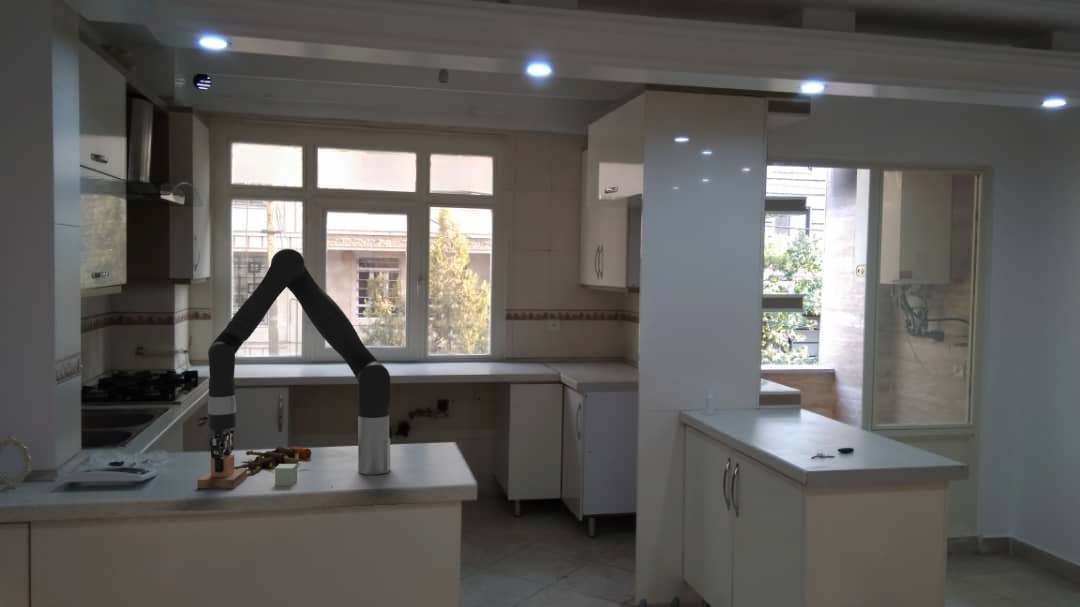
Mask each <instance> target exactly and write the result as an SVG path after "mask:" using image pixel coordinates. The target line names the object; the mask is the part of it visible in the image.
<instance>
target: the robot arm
mask: <svg viewBox="0 0 1080 607" xmlns="http://www.w3.org/2000/svg"><path fill="white" fill-rule="evenodd" d="M270 260H271V262H270V266H269V268H268V270H267V271H266V274H265V276H264V277H263V278H262V280H261V281H260V283H259V284H258V286H257V287H256V288H255V290H254V291H253V292H252V293H251V294H250V295H249V297H248V298H247V299H246V300H245V301H244V302H243V303H242V304H241V305H240V307H239V308H238V310H237V311H236V313H234V315H233V316H232V318H231V319H230V321H228V324H226V327H225V328H224V329H223V330H222V331H221V332H220V334H219V335H218V336H217V337H216V338H215V340H213V342H212V343H211V345H210V346H209V348H208V350H207V356H208V367H209V369H208V370H209V379H208V399H207V400H208V401H207V426H208V429H210V430H213V431H214V434H213V438H210V439H209V447H210V448H209V450H210V459H215V472H216V473H221V472H223V458H224V455H232V451H234V449H235V448H234V447H235V446H234V445H235V444H234V443H235V429H234V428H235V427H236V426H237V401H236V383H235V368H236V353H237V352H238V351H239V350H240V348H241V346H242V345H243V344H244V343H245V341H247V340H248V339H249V338H250V337H251V336H252V334H253V333H254V332H255V330H256V329H257V328H258V326H259V325H260V323H261V322H262V321H263V320H264V318H265V316H266V315H267V313H268V311H269V310H270V309H271V307H272V306H273V304H274V302H275V301H276V300H277V299H278V298H279V296H280V295H281V294H282V292H284V291H285V289H286V288H287V289H288V290H289V291H290V292H291V293H292V295H293V296H294V297H295V298H296V300H297V301H298V303H299V304H300V306H301V307H302V310H303V311H304V313H305V315H306V316H307V318H308V319H309V321H310V322H311V324H312V325H313V326H314V327H315V329H316V330H317V332H318V333H319V334H320V335H321V337H322V338H323V339H324V341H326V343H327V344H328V345H329V346H330V347H332V349H333V350H334V351H335V352H336V353H337V354H338V355H340V357H341V358H343V360H344V361H345V363H346V364H347V365H348V367H349V369H350V370H351V372H352V373H353V375H354V376H355V378H356V380H357V382H358V406H357V407H358V408H357V413H358V414H357V415H358V416H357V424H358V426H357V429H358V432H357V433H358V434H357V435H358V436H357V440H358V441H357V444H358V445H357V446H358V447H357V449H358V452H357V453H358V455H357V456H358V458H357V462H358V463H357V468H358V471H357V472H358V473H359V474H363V475H368V476H369V475H370V476H371V475H381V474H388V473H389V471H390V470H391V438H390V406H391V376H390V373H389V370H388V368H386V367H385V366H384V365H383V363H381V362H380V361H379V360H378V359H377V358H376V357H375V356H374V355H373V354H372V353H371V352H370V350H369V349H367V347H366V345H365V344H364V343H363V342H362V339H361V338H360V336H359V334H358V332H357V330H356V329H355V326H354V325H353V324H352V323H351V321H350V320H349V318H348V317H347V315H346V314H345V313H344V311H343V310H342V309H341V306H339V305H338V304H337V302H336V301H335V300H334V299H333V298H332V297H331V296H330V295H329V294H328V293H327V292H326V291H324V289H323V288H322V287H320V286H319V285H318V284H317V282H316V281H315V279H314V278H313V276H312V275H311V273H310V271H309V270H308V269H307V267H306V265H305V259H304V257H303V255H302V254H301V253H300V252H299V251H298V250H295V249H293V248H283V249H280V250H278V251H276V252H275V253H274V255H273V256H272V258H271V259H270Z"/></svg>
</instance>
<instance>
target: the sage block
mask: <svg viewBox="0 0 1080 607" xmlns="http://www.w3.org/2000/svg"><path fill="white" fill-rule="evenodd" d="M274 482H275V483H274V485H275V486H294V485H295V484H296V483H297V482H298V463H296V464H290V463H286V464H280V463H278V465H277V466H275V467H274Z"/></svg>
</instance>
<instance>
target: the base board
mask: <svg viewBox="0 0 1080 607" xmlns="http://www.w3.org/2000/svg"><path fill="white" fill-rule="evenodd" d="M247 474H248V469H247V468H241V469H234V473H233V474H231V475H230V476H229V477H211V470H209V471H208V472H206V473H205V474H203V475H202V476H201V477H199V478H198V479H197V480H196V481H197V483H196V484H197V485H196V486H197V489H198V488H234V489H235V488H237V486H239V485H240V484H241V483H242V482H244V481H245V480H246V479H247V478H248V476H247ZM245 478H246V479H245ZM244 479H245V480H244ZM238 484H239V485H238Z"/></svg>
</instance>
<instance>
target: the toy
mask: <svg viewBox="0 0 1080 607" xmlns="http://www.w3.org/2000/svg"><path fill="white" fill-rule="evenodd" d="M245 455H246V456H255V458H254V459H253V460H249V461H248V460H247V461H242V463H244V464H242V465H241V464H240V465H238V466H234V469H247V468H248V470H250V469H251V471H250V472H247V477H250V476H249V475H251V476H255V475H256V473H258V472H259V471H261V470H263V469H262V468H264V467H266V468H267V469H275V467H276V464H288V463H289V464H299V462H306V463H308V462H311V460H310V459H311V456H312V450H311V449H310V448H308V447H306V448H305V447H298V446H295V445H292V446H290V447H289V448H287V447H283V446H277V447H276V448H275V449H273V450H266V451H265V452H261V451H254V450H253V449H251V450H247V451H246V452H245ZM254 474H255V475H254Z"/></svg>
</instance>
